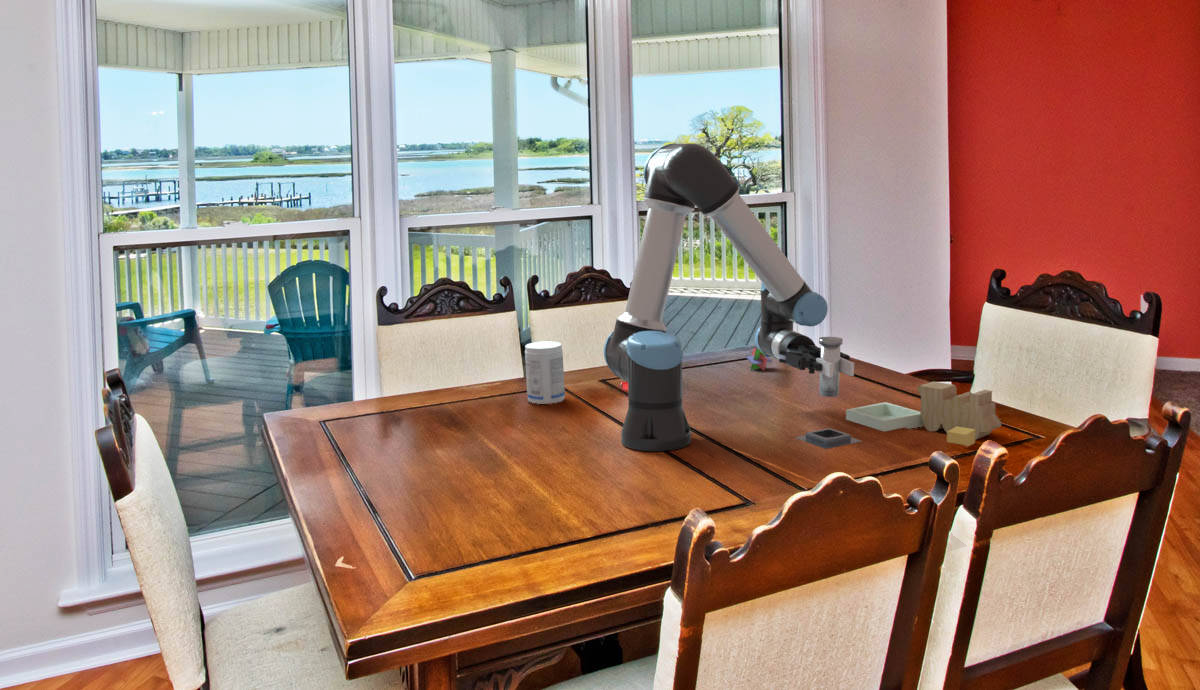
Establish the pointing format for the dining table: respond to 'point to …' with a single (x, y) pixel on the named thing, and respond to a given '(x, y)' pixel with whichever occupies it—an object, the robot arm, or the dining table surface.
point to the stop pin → (832, 355)
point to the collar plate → (828, 438)
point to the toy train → (957, 409)
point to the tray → (885, 416)
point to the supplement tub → (544, 372)
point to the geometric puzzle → (758, 359)
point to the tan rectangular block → (961, 436)
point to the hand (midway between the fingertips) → (841, 369)
